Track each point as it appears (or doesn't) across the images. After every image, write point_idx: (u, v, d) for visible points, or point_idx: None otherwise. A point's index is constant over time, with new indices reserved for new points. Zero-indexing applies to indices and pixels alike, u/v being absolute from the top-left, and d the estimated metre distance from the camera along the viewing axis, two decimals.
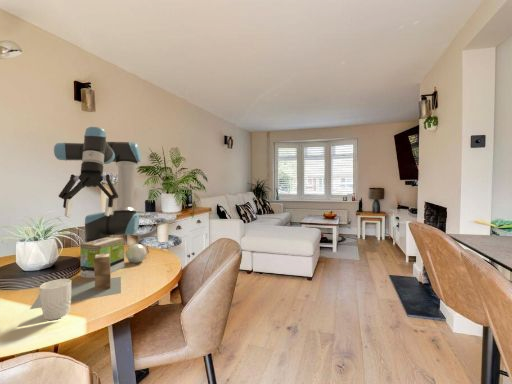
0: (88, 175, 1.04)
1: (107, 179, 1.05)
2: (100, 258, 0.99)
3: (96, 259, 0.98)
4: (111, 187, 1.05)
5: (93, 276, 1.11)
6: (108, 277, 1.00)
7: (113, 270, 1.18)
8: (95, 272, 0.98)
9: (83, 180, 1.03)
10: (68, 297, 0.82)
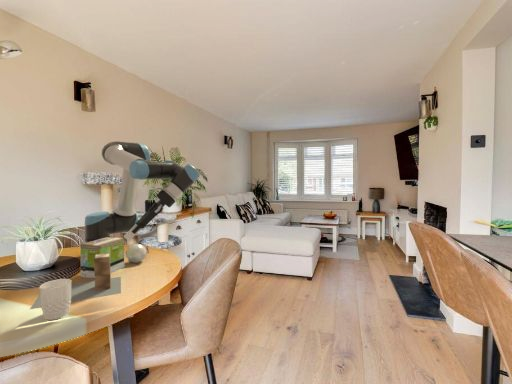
0: (160, 199, 1.11)
1: (153, 209, 1.04)
2: (100, 258, 0.99)
3: (96, 259, 0.98)
4: (146, 216, 1.04)
5: (93, 276, 1.11)
6: (108, 277, 1.00)
7: (113, 270, 1.18)
8: (95, 272, 0.98)
9: (152, 205, 1.10)
10: (68, 297, 0.82)
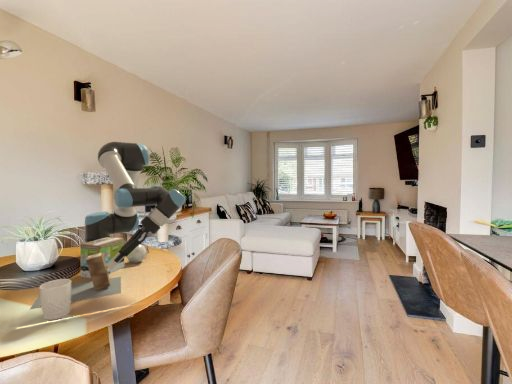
0: None
1: (136, 238, 1.02)
2: (92, 258, 0.98)
3: (88, 260, 0.97)
4: (129, 245, 1.02)
5: None
6: (105, 275, 1.00)
7: (113, 270, 1.18)
8: (91, 273, 0.98)
9: (136, 232, 1.07)
10: (68, 297, 0.82)
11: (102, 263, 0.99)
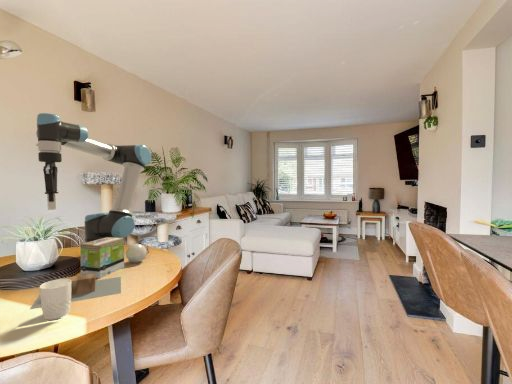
0: None
1: (44, 173, 1.05)
2: None
3: None
4: None
5: None
6: (80, 281, 0.96)
7: (113, 270, 1.18)
8: (72, 293, 0.95)
9: None
10: (68, 297, 0.82)
11: None
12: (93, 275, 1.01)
